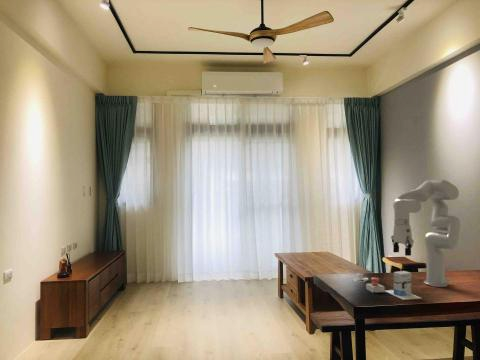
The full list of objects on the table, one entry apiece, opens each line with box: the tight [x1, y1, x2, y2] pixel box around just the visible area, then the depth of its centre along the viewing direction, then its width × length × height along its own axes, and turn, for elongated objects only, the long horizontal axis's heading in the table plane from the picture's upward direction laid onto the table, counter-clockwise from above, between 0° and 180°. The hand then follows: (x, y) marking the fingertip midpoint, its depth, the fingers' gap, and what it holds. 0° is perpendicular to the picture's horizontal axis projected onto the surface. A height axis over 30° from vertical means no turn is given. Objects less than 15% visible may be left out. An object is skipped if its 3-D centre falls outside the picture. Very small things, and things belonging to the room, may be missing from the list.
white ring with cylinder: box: [353, 273, 369, 283], centre depth 223 cm, size 9×8×4 cm
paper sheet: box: [384, 289, 423, 301], centre depth 192 cm, size 11×16×1 cm
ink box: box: [393, 270, 412, 296], centre depth 193 cm, size 8×5×12 cm, turn 115°
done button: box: [370, 276, 380, 286], centre depth 200 cm, size 4×4×5 cm
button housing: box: [365, 283, 385, 293], centre depth 200 cm, size 7×7×3 cm
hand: (402, 253), depth 193 cm, fingers open, 9 cm apart
